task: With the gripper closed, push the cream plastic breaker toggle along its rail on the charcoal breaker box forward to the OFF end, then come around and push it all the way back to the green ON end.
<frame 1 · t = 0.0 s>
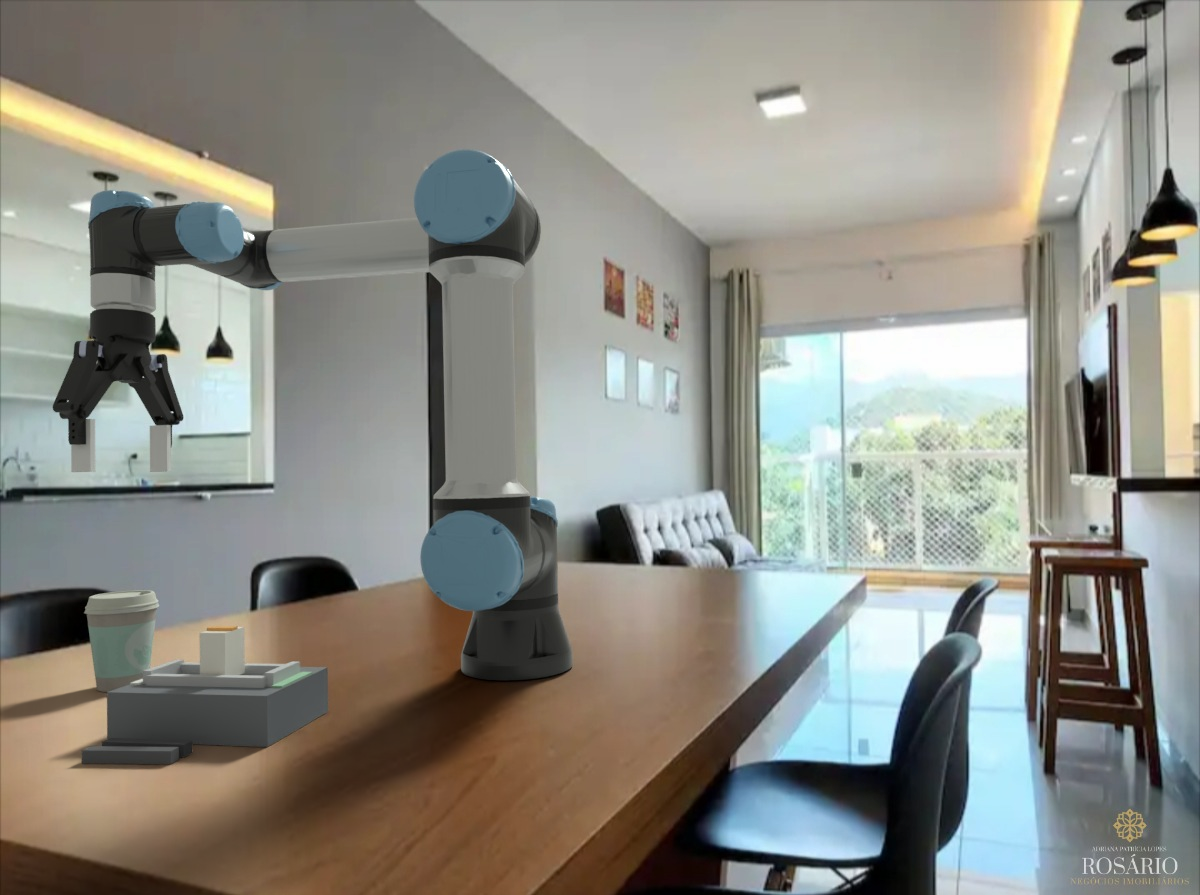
hand: (124, 472, 108), 28 cm above the table, fingers open, 13 cm apart
coffee cup: (123, 687, 107), on the table
toggle: (222, 651, 89), point 8 cm above the table, slide at 0.0 cm
dark grey long bar: (146, 753, 80), on the table
dark gray bar: (130, 761, 78), on the table
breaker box: (223, 725, 88), on the table
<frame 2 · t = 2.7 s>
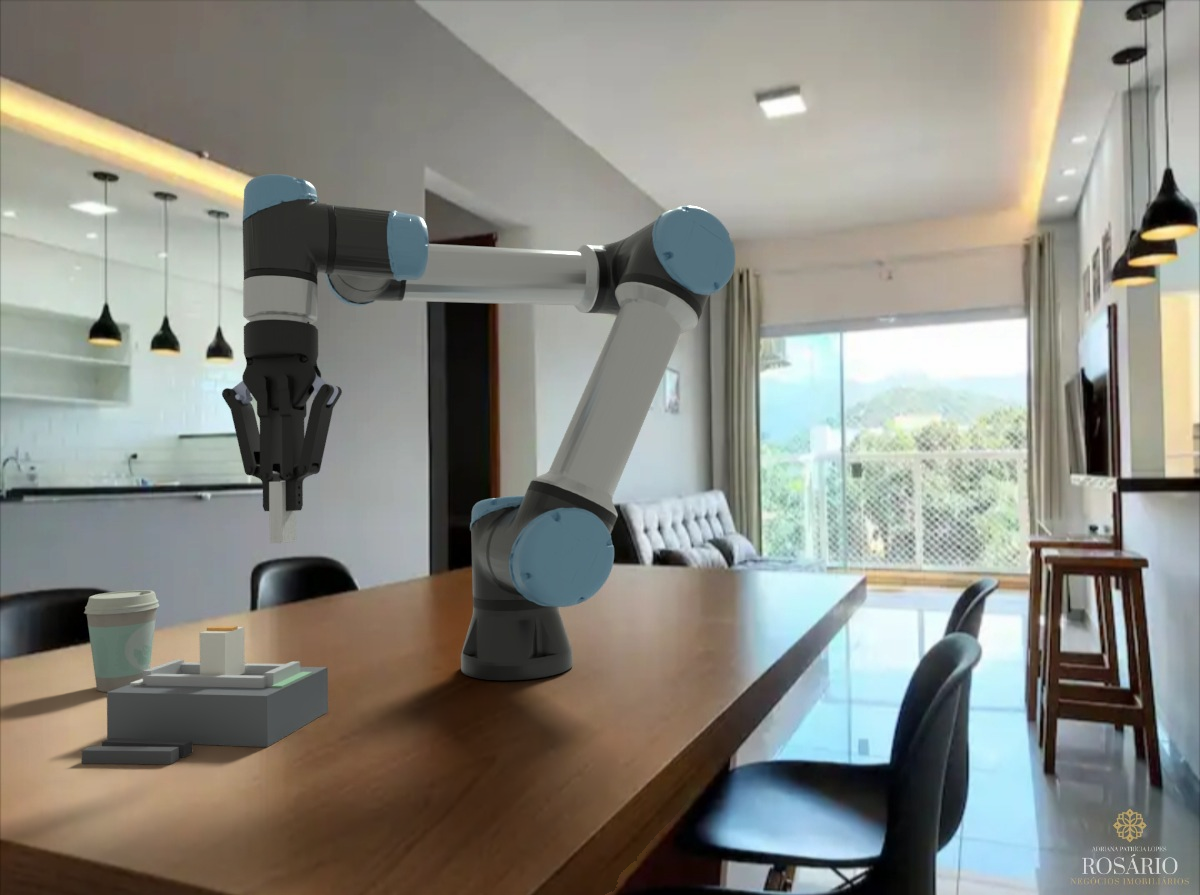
hand: (283, 542, 88), 20 cm above the table, fingers closed
nothing on the table moved.
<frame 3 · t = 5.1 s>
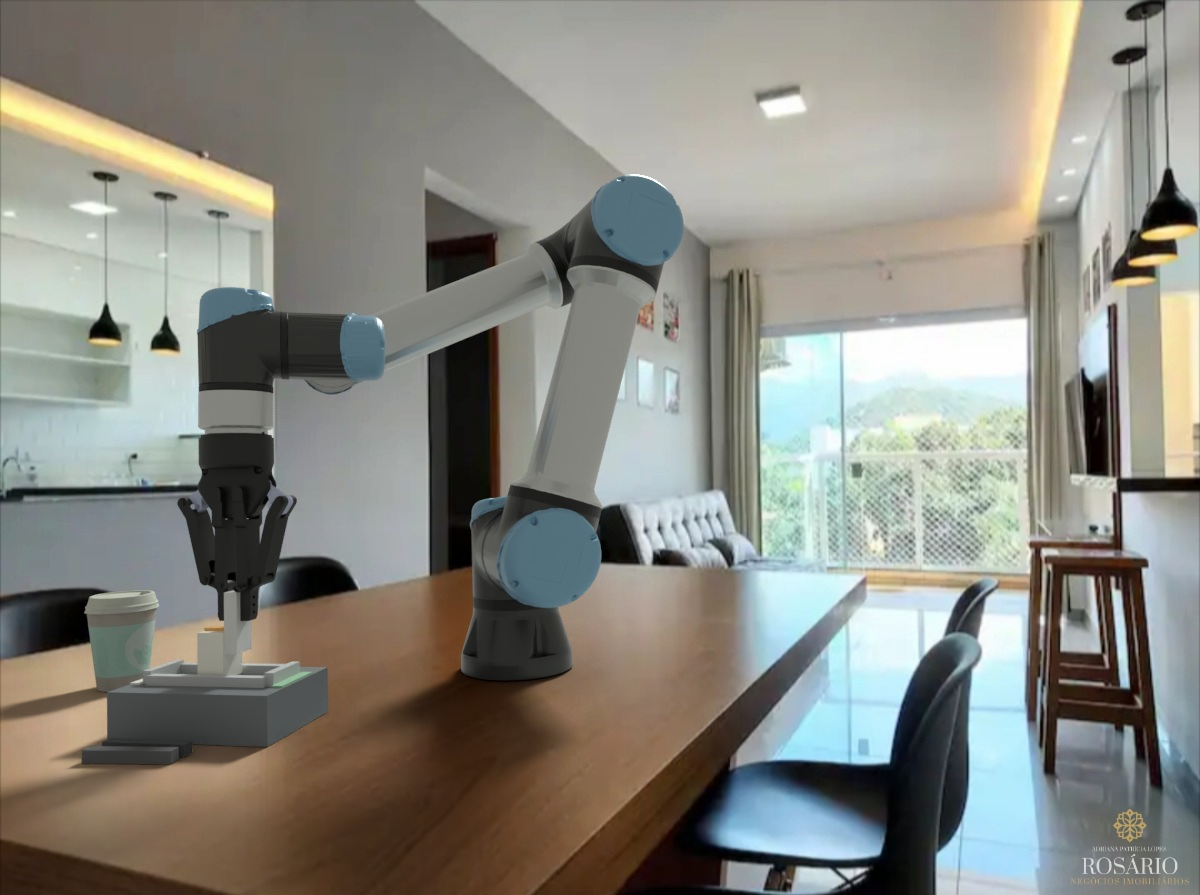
hand: (238, 651, 88), 8 cm above the table, fingers closed
toggle: (220, 651, 89), point 8 cm above the table, slide at 0.3 cm, touching gripper
everything else where it was.
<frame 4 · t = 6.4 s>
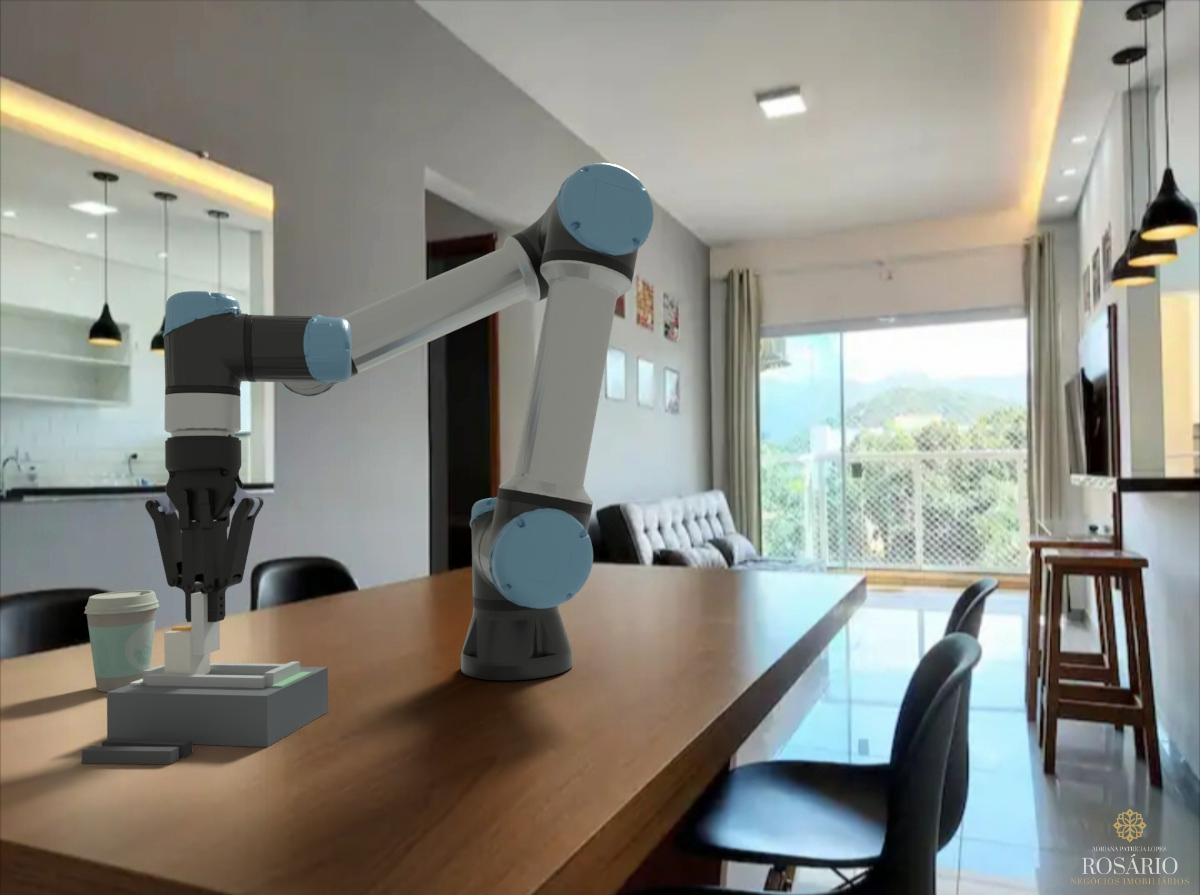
hand: (205, 651, 89), 8 cm above the table, fingers closed
toggle: (187, 651, 89), point 8 cm above the table, slide at 4.2 cm, touching gripper
everything else where it was.
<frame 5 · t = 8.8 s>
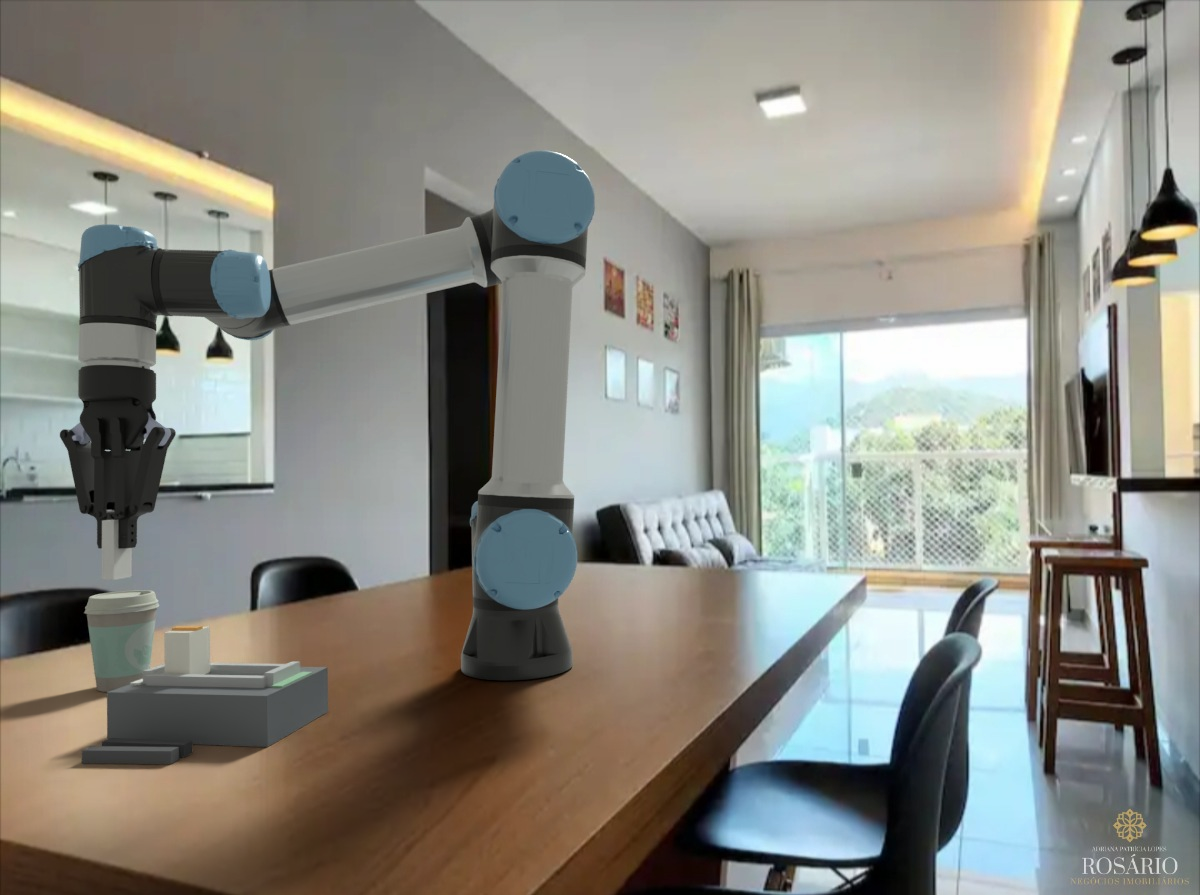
hand: (116, 578, 91), 16 cm above the table, fingers closed
toggle: (187, 651, 89), point 8 cm above the table, slide at 4.2 cm
everything else where it was.
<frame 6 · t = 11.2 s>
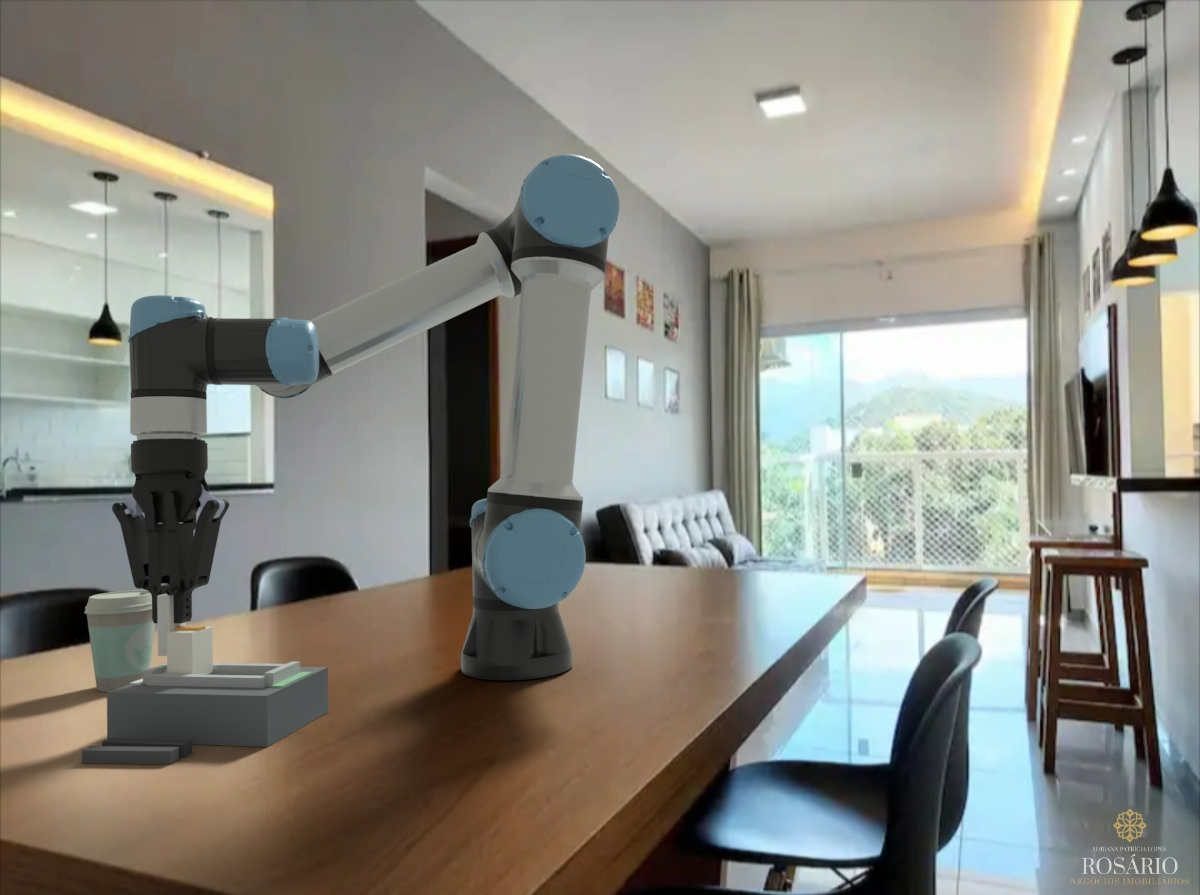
hand: (172, 652, 90), 8 cm above the table, fingers closed
toggle: (190, 651, 89), point 8 cm above the table, slide at 3.9 cm, touching gripper
everything else where it was.
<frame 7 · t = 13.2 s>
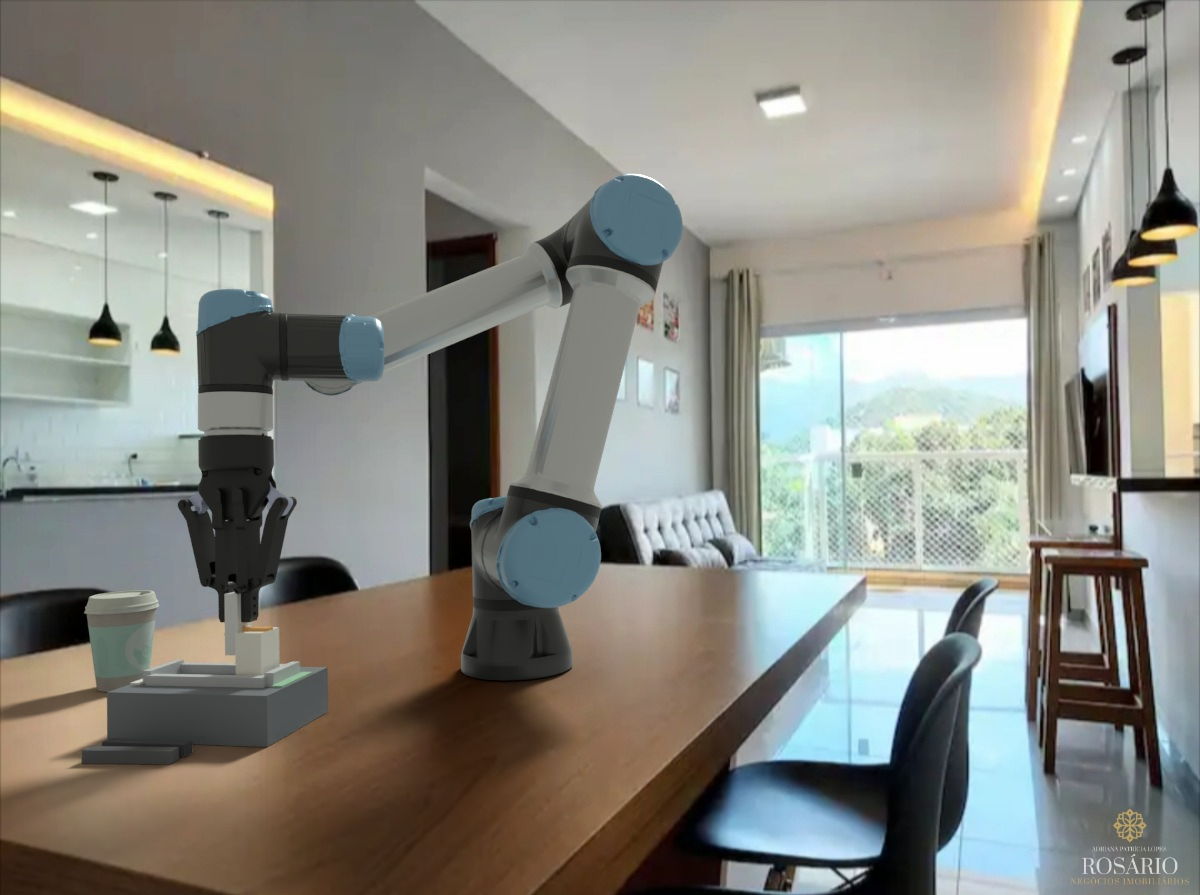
hand: (239, 652, 88), 8 cm above the table, fingers closed
toggle: (257, 652, 88), point 8 cm above the table, slide at -4.2 cm, touching gripper
everything else where it was.
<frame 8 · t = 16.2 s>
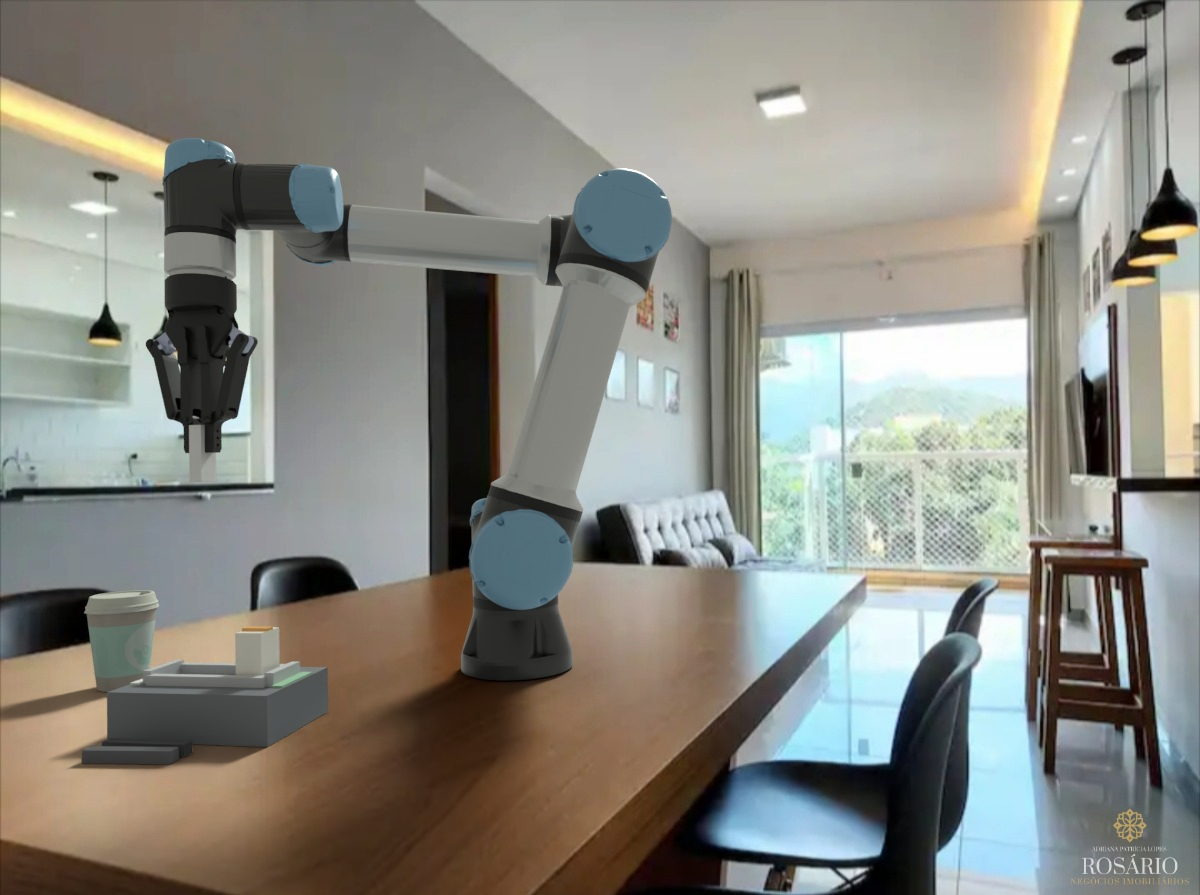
hand: (203, 481, 94), 26 cm above the table, fingers closed
toggle: (257, 652, 88), point 8 cm above the table, slide at -4.2 cm
everything else where it was.
at the end: toggle slide at -4.2 cm; toggle touching nothing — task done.
